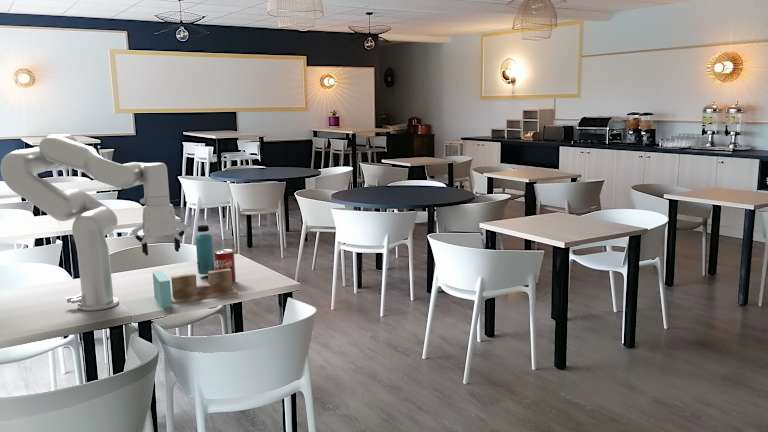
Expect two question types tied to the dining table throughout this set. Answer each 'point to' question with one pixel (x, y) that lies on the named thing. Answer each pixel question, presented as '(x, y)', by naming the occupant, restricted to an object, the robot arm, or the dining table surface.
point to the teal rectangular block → (162, 289)
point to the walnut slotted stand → (202, 286)
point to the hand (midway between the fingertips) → (161, 252)
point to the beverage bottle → (204, 251)
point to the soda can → (225, 261)
